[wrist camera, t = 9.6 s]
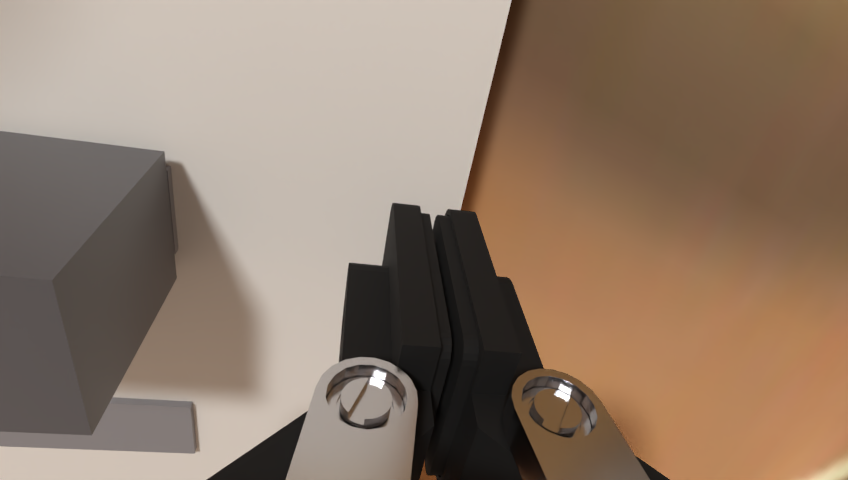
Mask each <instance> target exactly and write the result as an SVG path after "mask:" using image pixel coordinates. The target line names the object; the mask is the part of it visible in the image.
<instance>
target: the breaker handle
mask: <svg viewBox="0 0 848 480" xmlns="http://www.w3.org/2000/svg"><path fill="white" fill-rule="evenodd" d="M176 279H177V275H176V265H175V254H174V244H173V234H172V224H171V213H170V203H169V193H168V183H167V172H166V162H165V152H164V151H157V150H149V149H141V148H133V147H125V146H117V145H109V144H101V143H93V142H85V141H77V140H69V139H61V138H53V137H45V136H37V135H29V134H21V133H13V132H5V131H0V432H22V433H46V434H70V435H92V434H93V432H94V431H95V429H96V427H97V425H98V423H99V421H100V420H101V418H102V416H103V414H104V412H105V410H106V408H107V407H108V405H109V403H110V401H111V399H112V397H113V395H114V394H115V392H116V390H117V388H118V386H119V384H120V383H121V381H122V379H123V377H124V375H125V373H126V371H127V370H128V368H129V366H130V364H131V362H132V360H133V358H134V357H135V355H136V353H137V351H138V349H139V347H140V346H141V344H142V342H143V340H144V338H145V336H146V334H147V333H148V331H149V329H150V327H151V325H152V323H153V321H154V320H155V318H156V316H157V314H158V312H159V310H160V309H161V307H162V305H163V303H164V301H165V299H166V297H167V296H168V294H169V292H170V290H171V288H172V286H173V284H174V283H175V281H176Z"/></svg>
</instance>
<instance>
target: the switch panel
mask: <svg viewBox="0 0 848 480" xmlns="http://www.w3.org/2000/svg"><path fill="white" fill-rule="evenodd" d="M511 1H512V0H0V131H5V132H13V133H21V134H29V135H37V136H45V137H53V138H61V139H69V140H77V141H85V142H93V143H101V144H109V145H117V146H125V147H133V148H141V149H149V150H157V151H164V152H165V162H166V172H167V183H168V193H169V203H170V213H171V224H172V234H173V244H174V254H175V265H176V275H177V279H176V281H175V283H174V284H173V286H172V288H171V290H170V292H169V294H168V296H167V297H166V299H165V301H164V303H163V305H162V307H161V309H160V310H159V312H158V314H157V316H156V318H155V320H154V321H153V323H152V325H151V327H150V329H149V331H148V333H147V334H146V336H145V338H144V340H143V342H142V344H141V346H140V347H139V349H138V351H137V353H136V355H135V357H134V358H133V360H132V362H131V364H130V366H129V368H128V370H127V371H126V373H125V375H124V377H123V379H122V381H121V383H120V384H119V386H118V388H117V390H116V392H115V394H114V395H113V397H112V399H111V401H110V403H109V405H108V407H107V408H106V410H105V412H104V414H103V416H102V418H101V420H100V421H99V423H98V425H97V427H96V429H95V431H94V432H93V434H92V435H70V434H46V433H22V432H0V480H207V479H208V478H210V477H211V476H213V475H214V474H216V473H217V472H218V471H220V470H221V469H223V468H224V467H226V466H227V465H229V464H230V463H232V462H233V461H235V460H236V459H238V458H239V457H241V456H242V455H243V454H245V453H246V452H248V451H249V450H251V449H252V448H254V447H255V446H257V445H258V444H260V443H261V442H263V441H264V440H265V439H267V438H268V437H270V436H271V435H273V434H274V433H276V432H277V431H279V430H280V429H282V428H283V427H285V426H286V425H288V424H289V423H290V422H292V421H293V420H295V419H296V418H298V417H299V416H301V415H302V414H304V413H305V412H307V411H308V409H309V406H310V403H311V400H312V397H313V393H314V390H315V387H316V385H317V383H318V381H319V379H320V378H321V376H322V374H323V373H324V372H326V371H327V370H328V369H329V368H330V367H331V366H332V365H335V364H337V363H339V353H340V340H341V329H342V318H343V308H344V299H345V290H346V281H347V273H348V265H349V263H359V264H370V265H380V266H382V262H383V255H384V249H385V243H386V236H387V230H388V224H389V217H390V211H391V206H392V203H400V204H409V205H418V206H420V208H421V213H426V214H430V218H431V224H432V229H433V226H434V221H435V218H436V216H437V215H444V216H445V213H446V211H447V210H448V209H453V210H461V206H462V202H463V198H464V194H465V190H466V186H467V181H468V177H469V173H470V169H471V165H472V161H473V157H474V153H475V149H476V144H477V140H478V136H479V132H480V128H481V124H482V120H483V116H484V112H485V107H486V103H487V99H488V95H489V91H490V87H491V83H492V79H493V75H494V71H495V66H496V62H497V58H498V54H499V50H500V46H501V42H502V38H503V34H504V29H505V25H506V21H507V17H508V13H509V9H510V5H511Z"/></svg>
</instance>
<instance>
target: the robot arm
mask: <svg viewBox="0 0 848 480" xmlns="http://www.w3.org/2000/svg"><path fill="white" fill-rule="evenodd" d="M424 460H425V467H426V473H427V475H436V478H437V480H669V479H668V478H667V477H665V476H664V475H662V474H661V473H659V472H658V471H656V470H655V469H654V468H652V467H651V466H649V465H648V464H646V463H645V462H643V461H642V460H641V459H639V458H638V457H636V456H635V455H634V453H633V452H632V450H631V449H630V447H629V445H628V444H627V442H626V441H625V439H624V437H623V436H622V434H621V433H620V431H619V429H618V428H617V426H616V425H615V423H614V421H613V420H612V418H611V417H610V415H609V413H608V412H607V410H606V409H605V407H604V405H603V404H602V402H601V401H600V400H599V398H598V397H597V396H596V395H595V393H594V392H593V391H592V390H591V389H590V388H588V387H587V386H586V385H585V384H583V383H582V382H581V381H579V380H578V379H576V378H574V377H572V376H570V375H568V374H566V373H563V372H559V371H556V370H552V369H544V368H543V365H542V363H541V360H540V357H539V354H538V352H537V349H536V346H535V344H534V341H533V338H532V335H531V333H530V330H529V327H528V324H527V322H526V319H525V316H524V314H523V311H522V308H521V305H520V303H519V300H518V297H517V294H516V292H515V289H514V286H513V284H512V282H511V280H510V279H509V278H507V277H497V276H496V273H495V270H494V267H493V264H492V261H491V258H490V255H489V252H488V249H487V246H486V242H485V239H484V236H483V233H482V230H481V227H480V224H479V221H478V218H477V215H476V213H475V212H470V211H462V210H453V209H448V210H447V211H446V213H445V216H444V215H437V216H436V218H435V221H434V226H433V229H432V224H431V218H430V214H426V213H421V208H420V206H418V205H409V204H400V203H392V206H391V211H390V217H389V224H388V230H387V236H386V243H385V249H384V255H383V262H382V266H380V265H370V264H359V263H349V265H348V273H347V281H346V290H345V299H344V308H343V318H342V329H341V340H340V353H339V363H337V364H335V365H332V366H331V367H330V368H329V369H328V370H327V371H326V372H324V373H323V374H322V376H321V378H320V379H319V381H318V383H317V385H316V387H315V390H314V393H313V397H312V400H311V403H310V406H309V409H308V411H307V412H305V413H304V414H302V415H301V416H299V417H298V418H296V419H295V420H293V421H292V422H290V423H289V424H288V425H286V426H285V427H283V428H282V429H280V430H279V431H277V432H276V433H274V434H273V435H271V436H270V437H268V438H267V439H265V440H264V441H263V442H261V443H260V444H258V445H257V446H255V447H254V448H252V449H251V450H249V451H248V452H246V453H245V454H243V455H242V456H241V457H239V458H238V459H236V460H235V461H233V462H232V463H230V464H229V465H227V466H226V467H224V468H223V469H221V470H220V471H218V472H217V473H216V474H214V475H213V476H211V477H210V478H208V479H207V480H419V478H420V475H421V471H422V468H423V464H424Z"/></svg>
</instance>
